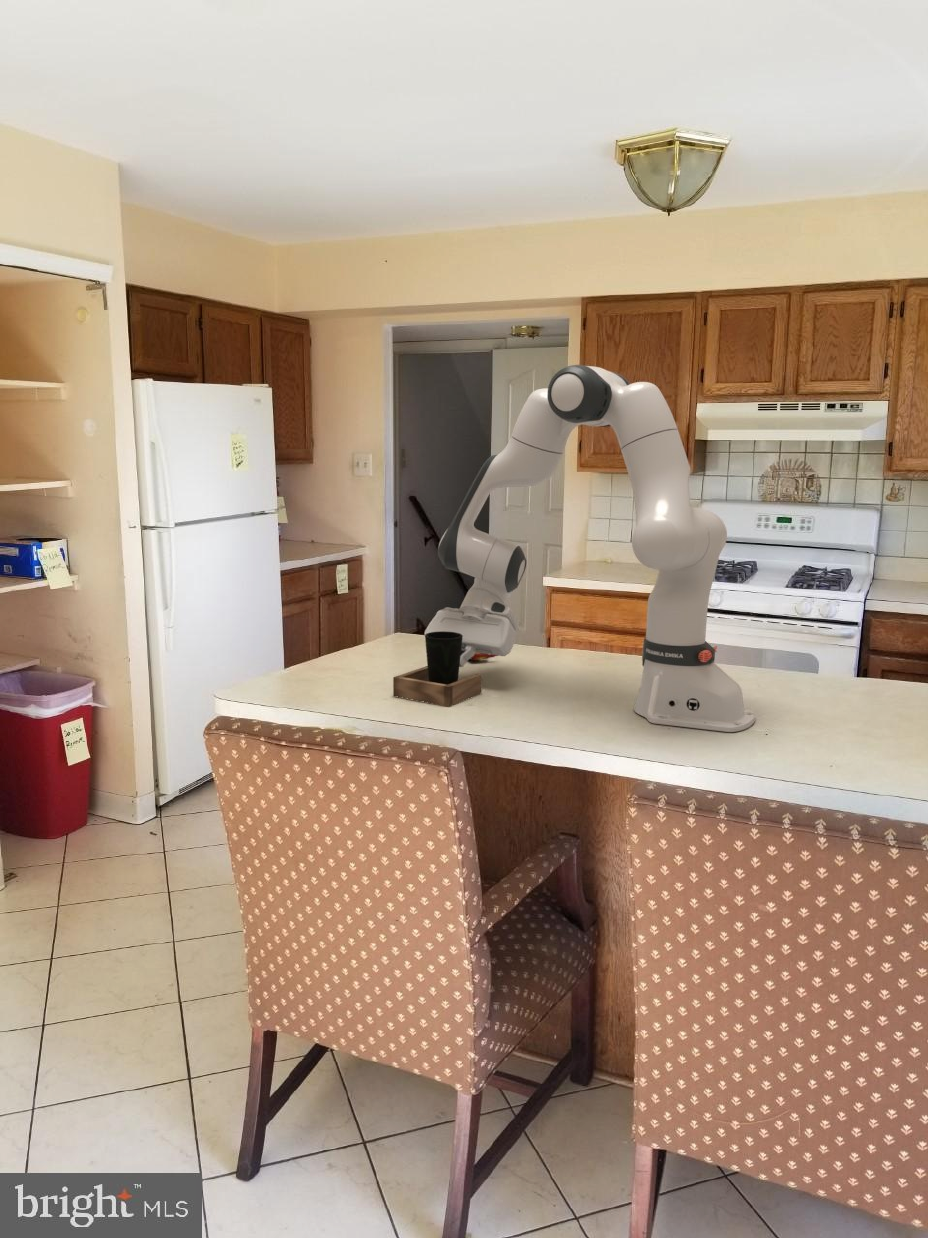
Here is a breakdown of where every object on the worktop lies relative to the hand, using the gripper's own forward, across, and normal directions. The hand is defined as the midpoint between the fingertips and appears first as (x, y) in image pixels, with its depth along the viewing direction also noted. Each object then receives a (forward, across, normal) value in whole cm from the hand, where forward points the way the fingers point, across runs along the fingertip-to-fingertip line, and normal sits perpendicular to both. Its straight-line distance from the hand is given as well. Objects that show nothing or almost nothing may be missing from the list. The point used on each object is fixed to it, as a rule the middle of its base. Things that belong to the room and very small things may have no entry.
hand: (455, 664), depth 196 cm
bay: (+8, 0, -1) cm, 8 cm away
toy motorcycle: (-16, -14, +25) cm, 33 cm away
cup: (+7, 0, 0) cm, 7 cm away
